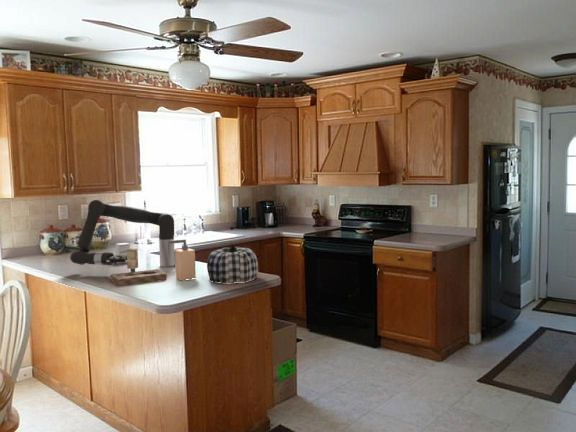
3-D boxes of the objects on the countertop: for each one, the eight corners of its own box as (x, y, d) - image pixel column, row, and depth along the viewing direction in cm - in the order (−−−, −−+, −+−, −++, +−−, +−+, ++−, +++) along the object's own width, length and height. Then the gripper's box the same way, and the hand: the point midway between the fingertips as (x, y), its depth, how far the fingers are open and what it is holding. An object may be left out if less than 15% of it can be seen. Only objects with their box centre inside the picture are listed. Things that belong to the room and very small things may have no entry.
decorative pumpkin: (222, 287, 266) (221, 249, 264) (196, 278, 289) (195, 243, 288) (269, 280, 283) (269, 243, 281) (242, 272, 307) (241, 238, 305)
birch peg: (131, 274, 303) (130, 248, 302) (139, 274, 302) (138, 248, 301) (126, 276, 298) (125, 249, 297) (134, 276, 297) (133, 249, 296)
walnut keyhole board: (157, 275, 300) (157, 269, 300) (166, 279, 287) (166, 273, 287) (111, 280, 287) (110, 274, 286) (118, 285, 273) (118, 279, 273)
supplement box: (119, 263, 340) (118, 244, 339) (115, 262, 346) (115, 243, 345) (130, 262, 344) (129, 243, 343) (126, 261, 350) (126, 242, 349)
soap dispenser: (190, 276, 295) (189, 238, 293) (195, 279, 288) (194, 239, 286) (168, 279, 289) (167, 239, 287) (173, 281, 282) (172, 241, 280)
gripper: (96, 254, 296) (122, 254, 292) (110, 250, 310) (135, 251, 306) (97, 267, 297) (122, 268, 293) (111, 262, 311) (135, 263, 307)
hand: (129, 259), depth 300 cm, fingers open, 8 cm apart
